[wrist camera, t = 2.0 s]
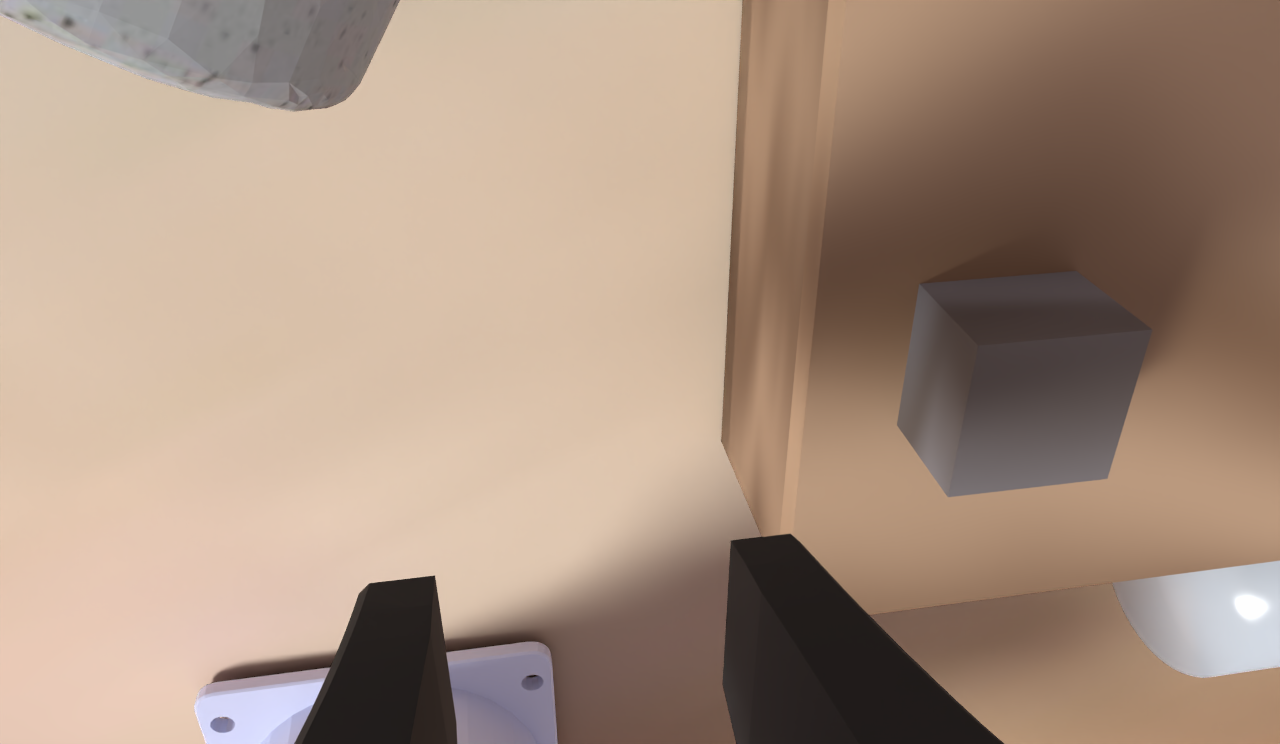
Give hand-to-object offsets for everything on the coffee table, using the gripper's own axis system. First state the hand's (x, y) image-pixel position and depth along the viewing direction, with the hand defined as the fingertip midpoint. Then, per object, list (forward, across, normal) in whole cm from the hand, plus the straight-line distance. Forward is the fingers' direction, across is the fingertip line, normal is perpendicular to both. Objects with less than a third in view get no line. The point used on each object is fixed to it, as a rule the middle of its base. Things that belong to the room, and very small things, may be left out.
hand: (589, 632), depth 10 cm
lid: (+5, -9, 0) cm, 10 cm away
